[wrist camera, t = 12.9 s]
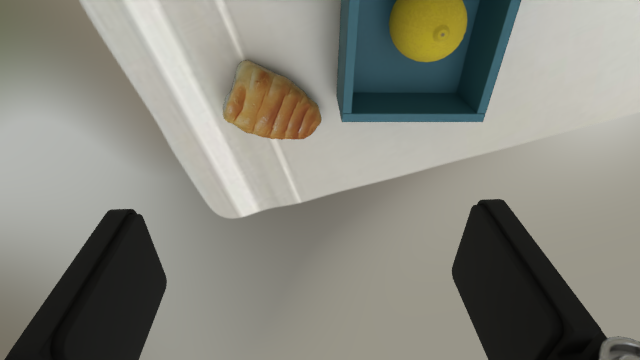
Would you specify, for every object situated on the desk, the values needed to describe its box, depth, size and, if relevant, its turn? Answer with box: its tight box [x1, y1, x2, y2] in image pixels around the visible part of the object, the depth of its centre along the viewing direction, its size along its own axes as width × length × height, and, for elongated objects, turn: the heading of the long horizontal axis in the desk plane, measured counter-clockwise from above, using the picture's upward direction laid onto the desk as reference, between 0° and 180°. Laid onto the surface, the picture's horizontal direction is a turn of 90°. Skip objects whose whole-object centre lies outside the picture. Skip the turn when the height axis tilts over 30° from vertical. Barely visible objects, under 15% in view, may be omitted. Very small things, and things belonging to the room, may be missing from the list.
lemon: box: [389, 0, 467, 62], centre depth 27 cm, size 6×6×8 cm
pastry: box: [223, 60, 321, 139], centre depth 34 cm, size 9×7×4 cm
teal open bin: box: [337, 0, 521, 122], centre depth 29 cm, size 16×13×6 cm
